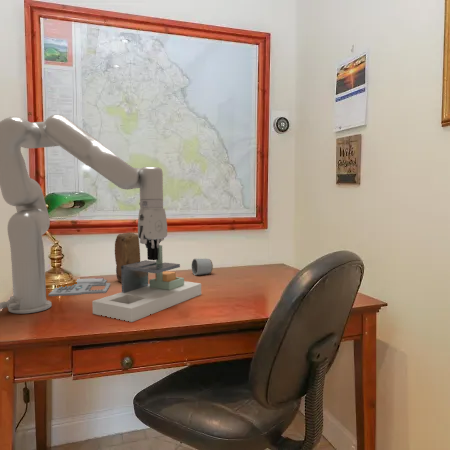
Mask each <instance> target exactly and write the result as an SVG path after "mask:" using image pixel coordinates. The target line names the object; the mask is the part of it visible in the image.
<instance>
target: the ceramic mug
mask: <svg viewBox="0 0 450 450" xmlns="http://www.w3.org/2000/svg"><path fill="white" fill-rule="evenodd" d="M213 268H214V264H213V261H212V260H211V259H210V258H193V259H192V261H191V272H192V274H193V275H194V276H202V275H210V274H211V273H212V271H213V270H214V269H213Z"/></svg>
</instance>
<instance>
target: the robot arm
mask: <svg viewBox="0 0 450 450" xmlns="http://www.w3.org/2000/svg"><path fill="white" fill-rule="evenodd" d="M49 147H50V148H52V147H53V148H54V147H60V148H61V149H63V150H65V152H67V153H69V154H70V155H72V156H73V157H74V158H76V159H77V160H79V161H80V162H82V163H83V164H84V165H85V166H87V167H89V168H91V169H92V170H94V171H95V172H97V174H99V175H101V176H102V177H103V178H105V179H107V180H108V181H109V182H111V183H112V184H113V185H115V186H116V187H118V188H120V189H122V190H135V189H139V211H138V216H137V217H138V220H137V235H138V237H139V244H143V245H145V248H146V250H147V261H156V260H158V247H159V245H160V243H161V242H163V241H164V240H165V238H166V237H167V236H168V221H167V214H166V210H165V209H166V208H164V189H163V188H164V183H163V180H164V178H163V175H164V174H163V170H162V168H161V167H159V166H143V167H133V166H131V165H130V164H128V163H127V162H125V161H124V160H123V159H121V158H120V157H119V156H117V155H116V154H115V153H113V152H112V151H110V150H109V149H108V148H107V147H106V146H104V145H103V143H102V142H100V141H99V140H98V139H97V138H95V137H94V136H92V135H91V134H89V133H88V132H87V131H85V130H84V129H83V128H81V127H80V126H78V125H77V124H75V123H74V122H73V121H72V120H70V119H68V118H67V117H65V116H64V115H61V114H52V115H50V116H48V117H47V118H46V119H45V120H44V121H35V122H34V121H33V122H30V121H29V120H27V119H25V118H23V117H19V116H9V117H5V118H4V119H2V120H1V121H0V193H1V195H2V199H3V200H4V202H6V204H8V205H10V206H12V207H15V208H16V212H15V213H14V214H12V215H11V217H10V218H9V220H8V222H7V235H8V242H9V246H10V248H9V249H10V261H11V262H10V263H11V276H12V277H11V278H12V296H9V299H8V300H6V301H1V302H0V310H2V309H6V308H7V309H8V312H10V313H12V314H19V315H20V314H33V313H34V314H35V313H38V312H42V311H45V310H46V311H47V310H48V309H50V308H51V307H52V306H53V305H52V302H51V300H49V299H48V300H47V285H46V264H45V262H46V261H45V248H44V241H43V235H44V234H46V233H47V232H48V230H49V228H50V224H51V221H50V216H49V210H48V207H47V203H46V200H45V196H44V193H43V188H42V187H41V185H40V183H38V181H36V180H35V179H34V178H31V177H29V174H28V173H29V172H28V170H27V166H26V165H27V164H26V162H25V159H24V156H23V153H22V150H21V148H24V149H39V148H40V149H41V148H49Z"/></svg>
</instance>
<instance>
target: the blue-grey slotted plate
mask: <svg viewBox="0 0 450 450" xmlns="http://www.w3.org/2000/svg"><path fill="white" fill-rule="evenodd" d="M76 279H77V281H76V282H77V284H74V285H72V286H68V287H67V286H65V287H62V286H61V287H59V288H56V287H55V288H54V289H53V290H52V291H50V292H49V293H48V297H62V296H63V297H64V296H79V295H80V296H81V295H91V294H107V293H108V291H109V289H110V287H111V282H108V280H107V279H105V278H104V277H92V278H76ZM92 287H104V288H103V289H91V288H92Z"/></svg>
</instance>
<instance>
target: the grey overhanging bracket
mask: <svg viewBox="0 0 450 450" xmlns="http://www.w3.org/2000/svg"><path fill="white" fill-rule="evenodd" d="M177 268H181V264H179V263H172V262H163V263H161V264H157V265H156V260H148V259H147V260H146V259H145V260H140V262H136V263H132V264H127V265H123V266H121V278H122V282H121V292H122V293H126V292H129V291H133V290H136V289H139V288H142V287H146V286H148V284H149V273H150V274H151V273H152V274H155V273H160V272H164V271H171V270H174V269H177Z"/></svg>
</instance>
